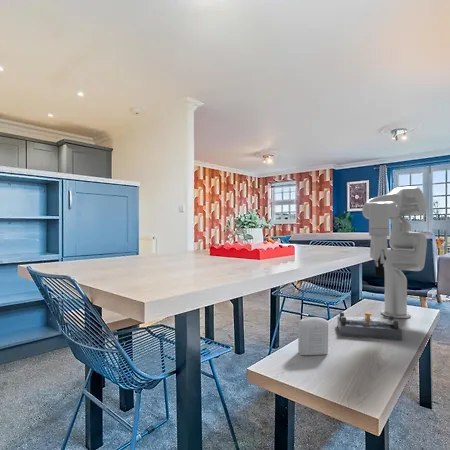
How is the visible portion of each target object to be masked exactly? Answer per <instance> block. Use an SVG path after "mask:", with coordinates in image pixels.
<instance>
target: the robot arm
mask: <svg viewBox="0 0 450 450" xmlns="http://www.w3.org/2000/svg"><path fill="white" fill-rule="evenodd" d="M427 205H428V204H427V200H426V198H425V195H424V193H423V191H422V190H421V188H420V187H417V186H403V187H395V188H393V189H391V190H390V191H388V192H387V193H386V194H383V195H379V196H375V197H373V198H370V199H368V200H367V201H365V203H364V204H363V206H362V210H361V211H362V216H363V217H364V218H365V219H367V220H368V235H369V237H370V250H369V254H370V255H369V257H370V258H371V259H372V260H374V276H375V277H384V308H383V309H381V310H380V313H381V314H382V315H383V316H385V317H389V316H393V317H394V319H408V318H411V316H412V315H411V313H410V312H408V279H407V277H406V275H405V274H404V272H403V271H413V272H420V271H423V269H424V268H425V263H426V256H427V248H428V247H427V246H428V241H427V236H426V235H425V233H423V232H421V231H411V230H412V224H411V223H410V222H409V221H408V220H407V219H406V218H405V217H403V216H422V215H425V214H426V212H427V209H428V208H427ZM390 222H391V229H390ZM388 237H389V242H388ZM388 243H389V247H390V249H388Z"/></svg>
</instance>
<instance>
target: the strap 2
mask: <svg viewBox="0 0 450 450" xmlns="http://www.w3.org/2000/svg"><path fill="white" fill-rule="evenodd" d="M370 320H371V322H376V323H383V324H390V325H393V321H395V320H393V319H389V318H382V317H381V318H380V317H374V316H370Z"/></svg>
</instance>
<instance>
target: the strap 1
mask: <svg viewBox="0 0 450 450" xmlns="http://www.w3.org/2000/svg"><path fill="white" fill-rule="evenodd" d="M342 317H346V321H347V322H366V320H365V316H345V315H344V316H341V320H342Z"/></svg>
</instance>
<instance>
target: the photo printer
mask: <svg viewBox="0 0 450 450" xmlns="http://www.w3.org/2000/svg"><path fill="white" fill-rule="evenodd" d="M297 338H298V343H297V345H298V346H297V347H298V349H297V350H298V354H299V355H301V356H316V355H317V356H319V355H321V356H323V355H328V354H329V321H328V320H327V319H325V318H322V317H318V316H317V317H316V316H309V317H305V318H302V319H299V321H298V337H297Z"/></svg>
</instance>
